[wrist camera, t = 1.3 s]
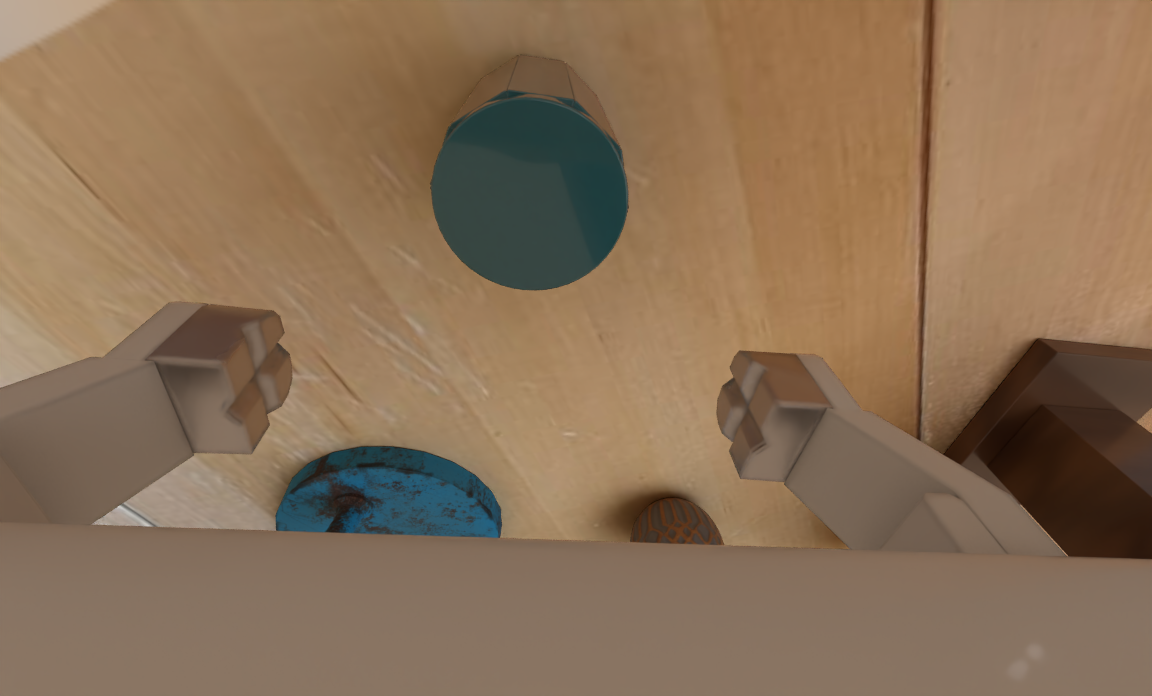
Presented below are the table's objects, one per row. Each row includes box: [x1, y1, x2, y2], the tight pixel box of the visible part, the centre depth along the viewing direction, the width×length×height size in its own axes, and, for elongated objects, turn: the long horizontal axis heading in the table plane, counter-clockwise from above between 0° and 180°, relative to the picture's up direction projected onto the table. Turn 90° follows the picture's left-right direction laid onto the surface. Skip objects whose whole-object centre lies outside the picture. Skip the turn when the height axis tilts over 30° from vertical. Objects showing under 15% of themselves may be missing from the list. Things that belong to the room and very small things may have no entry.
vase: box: [630, 498, 724, 545], centre depth 36 cm, size 7×7×9 cm
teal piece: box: [430, 55, 629, 290], centre depth 19 cm, size 6×6×9 cm
